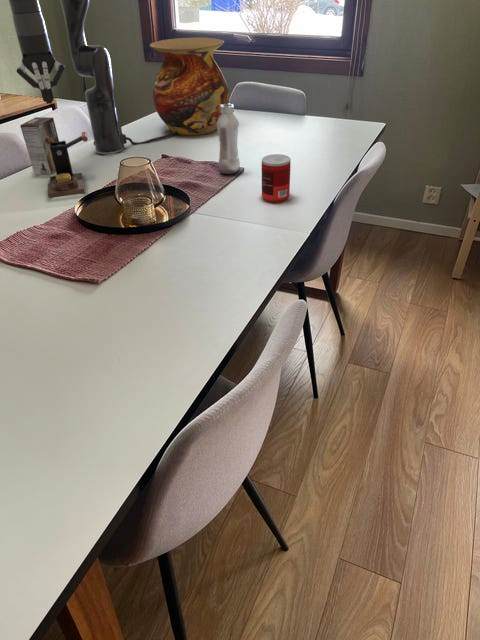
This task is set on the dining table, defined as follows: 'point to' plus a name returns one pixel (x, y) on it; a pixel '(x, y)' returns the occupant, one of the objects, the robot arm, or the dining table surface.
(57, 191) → the switch plate
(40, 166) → the coffee box
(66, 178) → the button
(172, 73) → the vase
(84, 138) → the lever
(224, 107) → the plastic bottle
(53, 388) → the dining table surface
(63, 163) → the lever bracket
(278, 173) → the canned food
